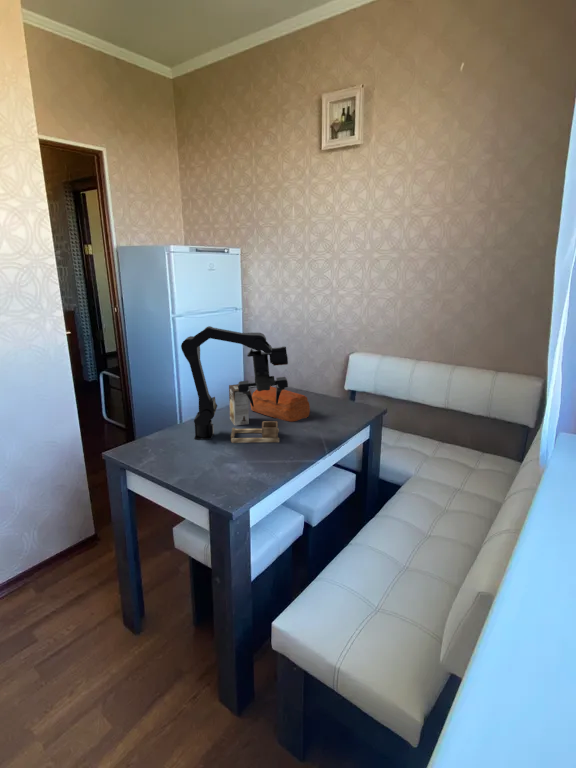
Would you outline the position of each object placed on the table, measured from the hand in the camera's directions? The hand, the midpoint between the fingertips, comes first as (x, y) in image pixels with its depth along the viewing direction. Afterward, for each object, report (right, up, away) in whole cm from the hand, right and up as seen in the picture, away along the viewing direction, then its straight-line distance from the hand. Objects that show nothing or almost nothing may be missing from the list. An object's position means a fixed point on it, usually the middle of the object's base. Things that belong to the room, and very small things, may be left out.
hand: (265, 405), depth 164 cm
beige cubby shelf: (-3, -13, +1) cm, 13 cm away
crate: (+2, -12, +1) cm, 12 cm away
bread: (+5, -5, +29) cm, 30 cm away
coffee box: (-12, -8, +17) cm, 22 cm away
